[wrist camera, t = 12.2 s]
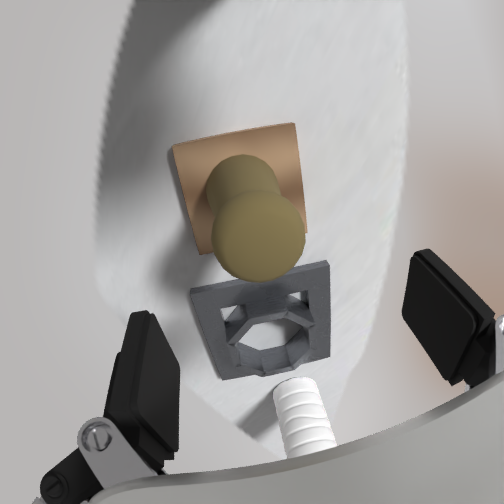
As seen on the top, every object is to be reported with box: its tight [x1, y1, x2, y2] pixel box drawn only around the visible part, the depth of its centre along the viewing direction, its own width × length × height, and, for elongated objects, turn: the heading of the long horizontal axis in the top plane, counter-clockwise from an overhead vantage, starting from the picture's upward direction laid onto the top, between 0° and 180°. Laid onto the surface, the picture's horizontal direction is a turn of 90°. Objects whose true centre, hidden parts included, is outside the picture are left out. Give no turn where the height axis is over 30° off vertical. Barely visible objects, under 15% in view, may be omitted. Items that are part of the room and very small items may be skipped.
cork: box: [206, 154, 305, 283], centre depth 20 cm, size 6×6×11 cm
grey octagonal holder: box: [190, 260, 331, 380], centre depth 32 cm, size 14×14×4 cm
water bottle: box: [273, 377, 337, 459], centre depth 30 cm, size 9×6×25 cm
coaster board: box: [172, 122, 307, 255], centre depth 25 cm, size 10×10×1 cm
